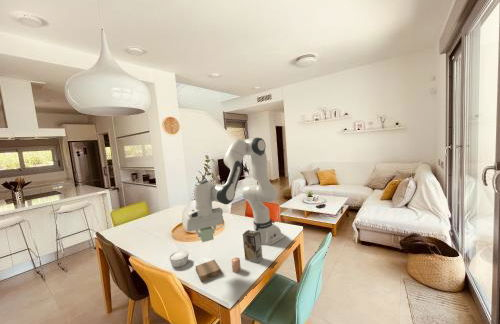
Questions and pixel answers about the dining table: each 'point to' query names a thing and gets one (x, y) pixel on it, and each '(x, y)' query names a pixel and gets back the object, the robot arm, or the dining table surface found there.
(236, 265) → the reddish pink cylinder
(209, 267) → the walnut base
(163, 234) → the dining table surface
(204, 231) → the green cube
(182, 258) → the ramekin
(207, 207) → the robot arm
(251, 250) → the coffee box
